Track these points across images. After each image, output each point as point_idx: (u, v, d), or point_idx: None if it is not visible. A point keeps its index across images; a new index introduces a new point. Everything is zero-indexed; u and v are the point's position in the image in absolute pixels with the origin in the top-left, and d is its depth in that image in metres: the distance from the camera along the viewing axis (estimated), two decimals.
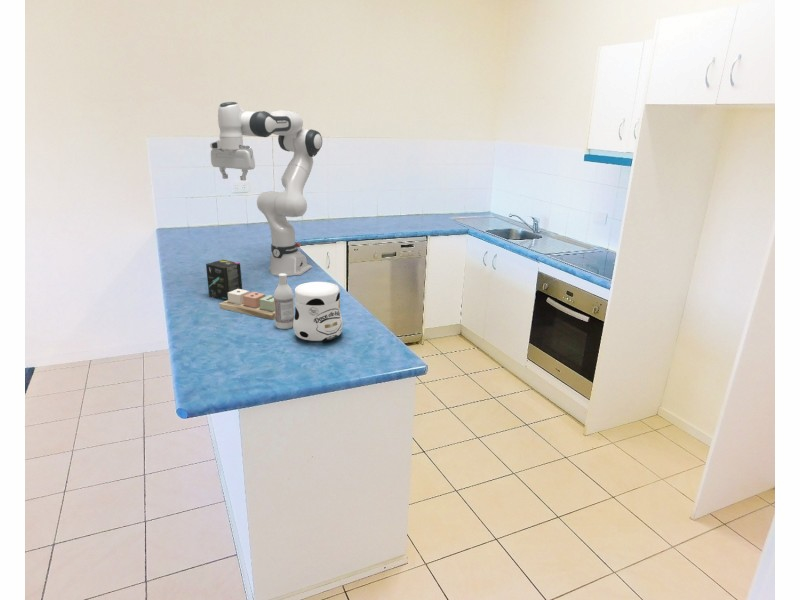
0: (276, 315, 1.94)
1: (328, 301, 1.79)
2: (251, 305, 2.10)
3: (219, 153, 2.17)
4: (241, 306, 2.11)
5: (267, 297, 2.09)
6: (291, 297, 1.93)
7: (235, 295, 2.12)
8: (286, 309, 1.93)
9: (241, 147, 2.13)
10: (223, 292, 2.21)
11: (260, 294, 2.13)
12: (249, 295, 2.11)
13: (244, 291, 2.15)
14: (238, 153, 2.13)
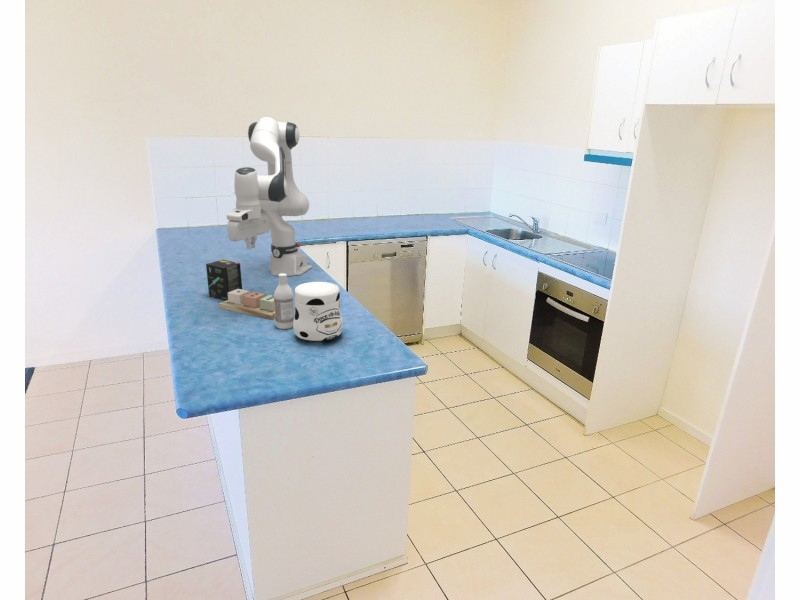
0: (276, 315, 1.94)
1: (328, 301, 1.79)
2: (251, 305, 2.10)
3: (243, 224, 1.97)
4: (241, 306, 2.11)
5: (267, 297, 2.09)
6: (291, 297, 1.93)
7: (235, 295, 2.12)
8: (286, 309, 1.93)
9: None
10: (223, 292, 2.21)
11: (260, 294, 2.13)
12: (249, 295, 2.11)
13: (244, 291, 2.15)
14: (261, 219, 2.05)
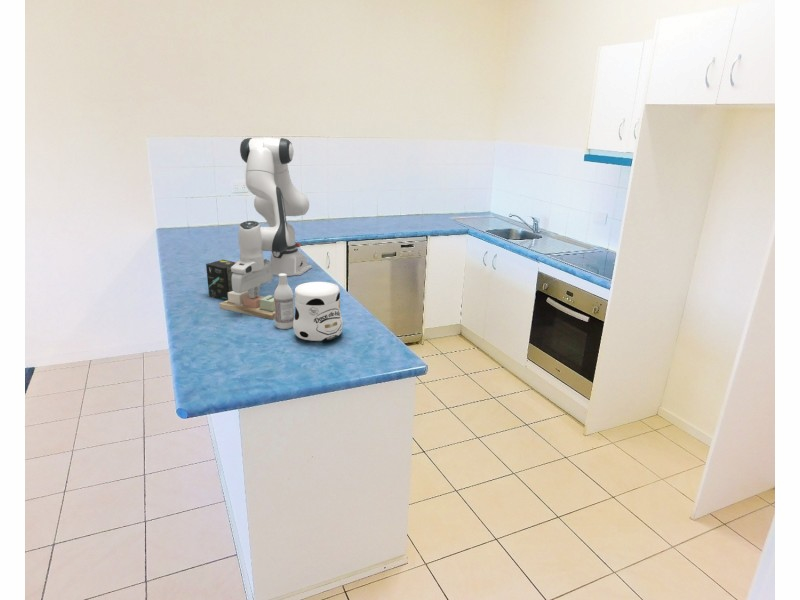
0: (276, 315, 1.94)
1: (328, 301, 1.79)
2: (252, 307, 2.10)
3: (247, 276, 2.03)
4: (241, 306, 2.11)
5: (267, 297, 2.09)
6: (291, 297, 1.93)
7: (235, 295, 2.12)
8: (286, 309, 1.93)
9: None
10: (223, 292, 2.21)
11: (260, 297, 2.13)
12: (249, 298, 2.11)
13: None
14: (264, 269, 2.12)
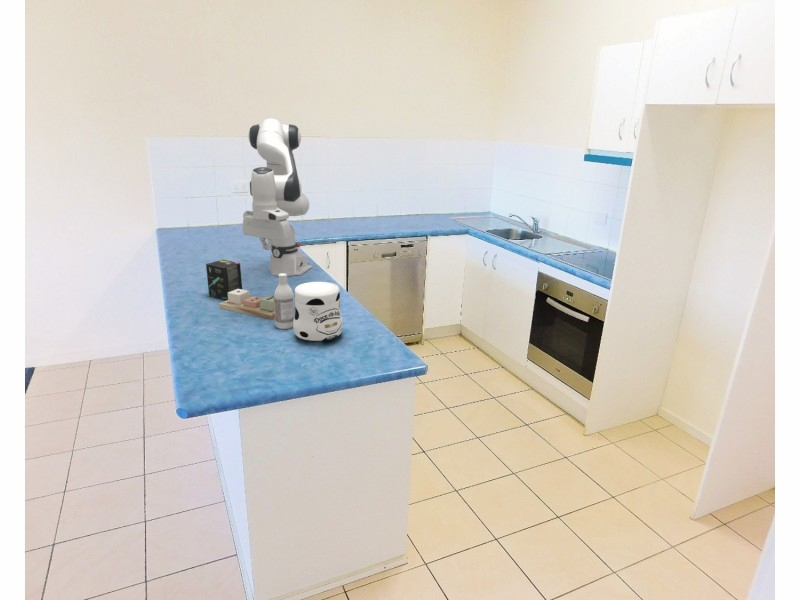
0: (276, 315, 1.94)
1: (328, 301, 1.79)
2: None
3: None
4: (241, 306, 2.11)
5: (267, 297, 2.09)
6: (291, 297, 1.93)
7: (235, 295, 2.12)
8: (286, 309, 1.93)
9: None
10: (223, 292, 2.21)
11: (260, 298, 2.13)
12: (249, 299, 2.12)
13: (244, 291, 2.15)
14: None
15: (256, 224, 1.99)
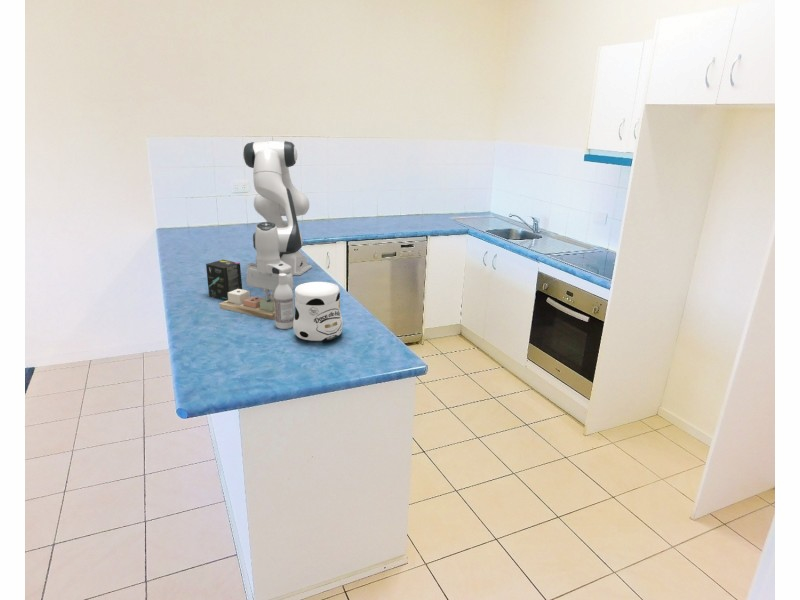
0: (276, 315, 1.94)
1: (328, 301, 1.79)
2: None
3: None
4: (241, 306, 2.11)
5: None
6: (291, 297, 1.93)
7: (235, 295, 2.12)
8: (286, 309, 1.93)
9: None
10: (223, 292, 2.21)
11: (260, 298, 2.13)
12: (249, 299, 2.12)
13: (244, 291, 2.15)
14: None
15: (259, 276, 2.05)
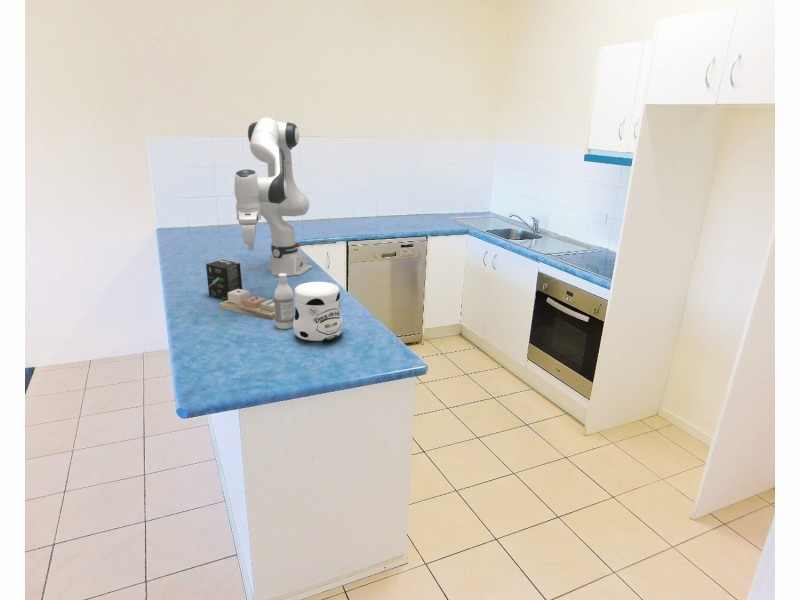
0: (276, 315, 1.94)
1: (328, 301, 1.79)
2: None
3: None
4: (241, 306, 2.11)
5: (267, 302, 2.10)
6: (291, 297, 1.93)
7: (235, 295, 2.12)
8: (286, 309, 1.93)
9: None
10: (223, 292, 2.21)
11: (260, 298, 2.13)
12: (249, 299, 2.12)
13: (244, 291, 2.15)
14: None
15: None
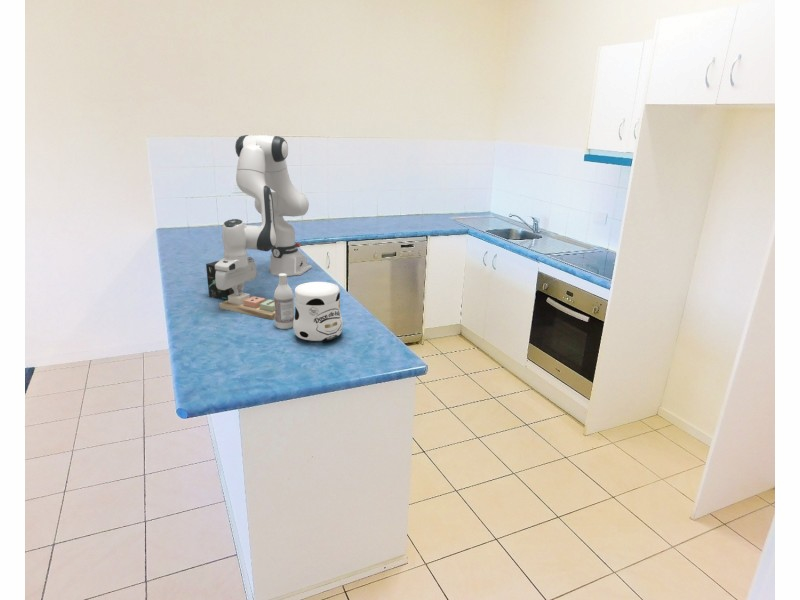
0: (276, 315, 1.94)
1: (328, 301, 1.79)
2: None
3: (231, 273, 2.07)
4: (241, 306, 2.11)
5: (267, 302, 2.10)
6: (291, 297, 1.93)
7: (235, 298, 2.13)
8: (286, 309, 1.93)
9: None
10: (223, 292, 2.21)
11: (260, 298, 2.13)
12: (249, 299, 2.12)
13: (244, 294, 2.16)
14: (248, 266, 2.15)
15: None
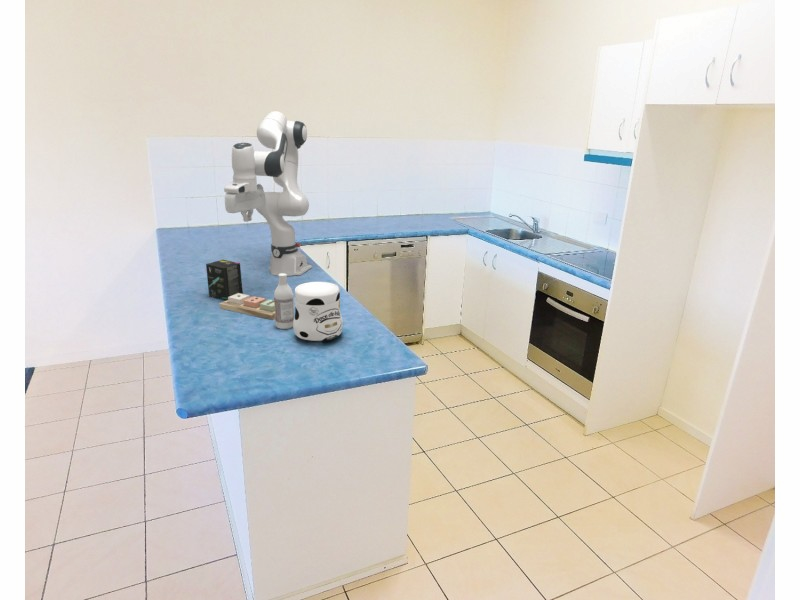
0: (276, 315, 1.94)
1: (328, 301, 1.79)
2: None
3: (240, 197, 2.06)
4: (241, 306, 2.11)
5: (267, 302, 2.10)
6: (291, 297, 1.93)
7: (235, 299, 2.13)
8: (286, 309, 1.93)
9: None
10: (223, 292, 2.21)
11: (260, 298, 2.13)
12: (249, 299, 2.12)
13: (244, 295, 2.16)
14: (257, 193, 2.14)
15: None
